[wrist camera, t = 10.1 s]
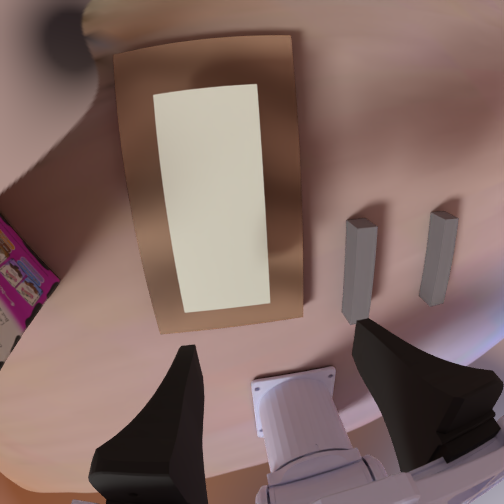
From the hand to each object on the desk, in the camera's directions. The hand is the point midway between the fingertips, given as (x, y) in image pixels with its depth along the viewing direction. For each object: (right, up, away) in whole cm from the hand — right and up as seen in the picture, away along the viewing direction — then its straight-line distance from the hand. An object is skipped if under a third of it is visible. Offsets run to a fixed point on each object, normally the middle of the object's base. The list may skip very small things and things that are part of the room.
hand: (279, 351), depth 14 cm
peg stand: (-4, +8, +7) cm, 12 cm away
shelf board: (-3, +7, +4) cm, 9 cm away
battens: (+11, +4, +11) cm, 16 cm away
